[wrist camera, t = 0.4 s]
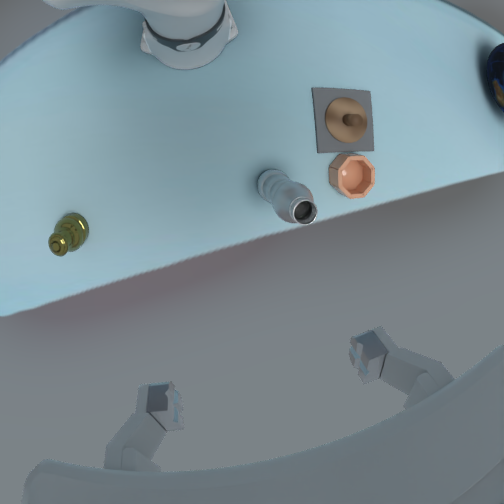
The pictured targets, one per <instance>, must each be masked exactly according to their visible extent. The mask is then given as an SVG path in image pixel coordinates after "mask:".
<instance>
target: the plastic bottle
mask: <svg viewBox="0 0 504 504" xmlns="http://www.w3.org/2000/svg"><path fill="white" fill-rule="evenodd" d="M258 191H259V194H260V195H261V197H262V198H263V199H264V200H266V201H268V202H270V203H272V205H273V208H274V210H275V212H276V214H277V215H278V216H279V218H281V219H282V220H284V221H286V222H289V223H298V224H300V225H309V224H311V223H312V222H314V220H315V219H316V217H317V213H318V210H317V207H316V205H315V204H314V200H313V196H312V194H311V192H310V190H309V189H308V188H307V187H306V186H305V185H303V184H301V183H298V182H294V181H290V179H289V178H288V177H287V175H286V174H285V173H283V172H282V171H279V170H268V171H266V172H264V173H263V174H262V175H261V176H260V178H259V180H258Z"/></svg>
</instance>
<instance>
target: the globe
mask: <svg viewBox="0 0 504 504" xmlns="http://www.w3.org/2000/svg"><path fill="white" fill-rule="evenodd" d="M487 78H488V83H489V87H490V90H491V92H492V95H493V97H494V99H495V101H496V102H497V104H498V105H499V107H500V108H501V110H502V111H503V112H504V43H502V44H500V45H498V46H497V47H495V48H494V49H493V51H492V52H491V54H490V56H489V59H488V63H487Z"/></svg>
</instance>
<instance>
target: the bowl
mask: <svg viewBox="0 0 504 504" xmlns="http://www.w3.org/2000/svg"><path fill="white" fill-rule="evenodd" d="M329 183H330V184H331V185H332V186H333V187H334V188H335V189H336V190H337V191H338V192H339V193H340V194H342V195H344V196H346V197H347V198H349V199H353V198H362V197H365V196H366V195H367V193H368V192H369V191H370V190H371V188H372V187H373V186H374V184H375V168H374V166H373V165H372V164H371V163H370V162H369V161H368V159H367V158H366V157H365V156H363V155H358V154H354V153H349V154H339V155H338V156H337V157H336V158H335V160H334V161H333V162H332V163H331V164H330V167H329Z"/></svg>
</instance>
